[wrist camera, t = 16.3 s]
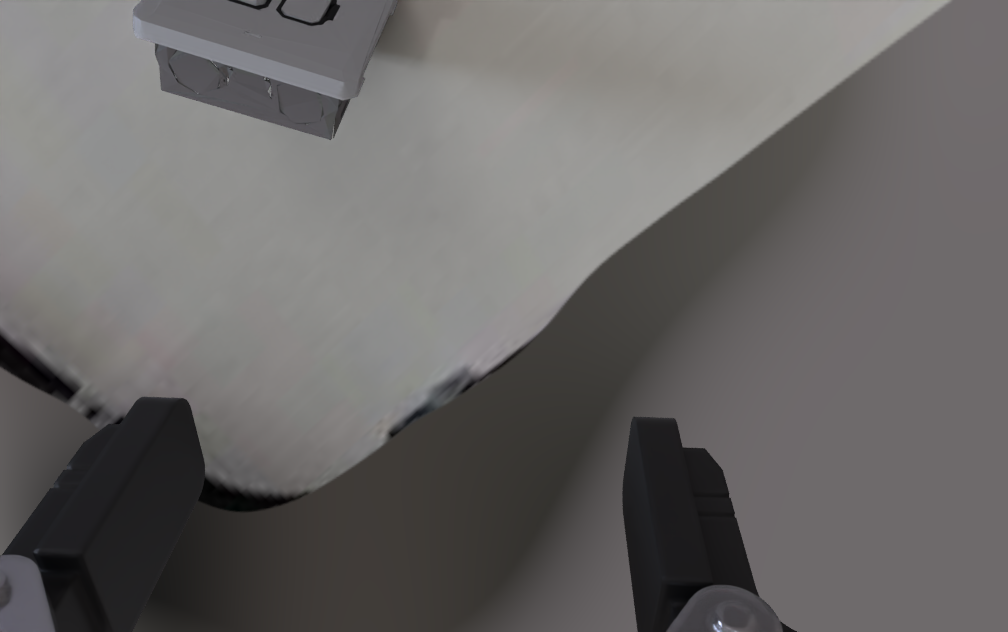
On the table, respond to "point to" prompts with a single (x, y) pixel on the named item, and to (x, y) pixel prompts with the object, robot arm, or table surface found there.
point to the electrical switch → (266, 54)
